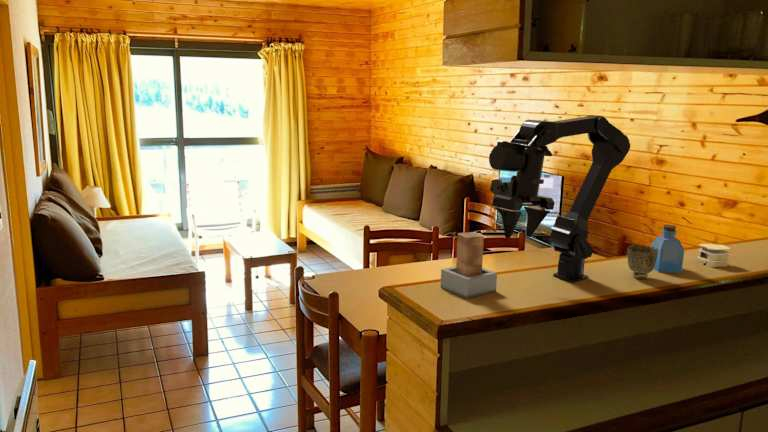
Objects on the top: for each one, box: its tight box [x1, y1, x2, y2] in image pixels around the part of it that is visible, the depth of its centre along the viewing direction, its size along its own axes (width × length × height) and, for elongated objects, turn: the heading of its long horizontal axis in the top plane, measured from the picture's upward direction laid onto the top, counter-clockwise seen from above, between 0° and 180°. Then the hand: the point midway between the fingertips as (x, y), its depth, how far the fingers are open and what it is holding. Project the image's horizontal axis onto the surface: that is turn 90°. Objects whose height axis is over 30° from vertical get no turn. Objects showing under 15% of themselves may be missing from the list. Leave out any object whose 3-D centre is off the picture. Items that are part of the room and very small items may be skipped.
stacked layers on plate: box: [697, 243, 731, 268], centre depth 174 cm, size 10×9×6 cm
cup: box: [626, 244, 659, 280], centre depth 161 cm, size 8×7×8 cm
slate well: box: [440, 266, 498, 300], centre depth 151 cm, size 9×9×5 cm
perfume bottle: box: [650, 224, 685, 274], centre depth 169 cm, size 6×6×12 cm
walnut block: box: [456, 231, 485, 277], centre depth 150 cm, size 4×4×13 cm
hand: (518, 237), depth 151 cm, fingers open, 9 cm apart
